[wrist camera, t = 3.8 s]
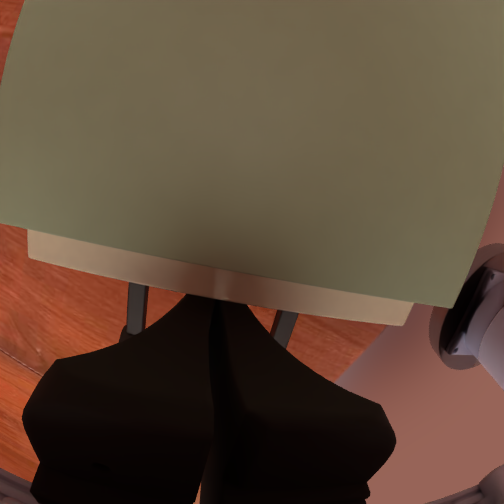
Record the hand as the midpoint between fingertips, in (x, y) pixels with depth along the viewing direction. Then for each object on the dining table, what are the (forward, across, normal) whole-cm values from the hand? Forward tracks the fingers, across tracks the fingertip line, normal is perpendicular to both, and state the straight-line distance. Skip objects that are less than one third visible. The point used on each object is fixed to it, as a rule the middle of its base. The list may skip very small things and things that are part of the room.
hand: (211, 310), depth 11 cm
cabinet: (+5, 0, -10) cm, 11 cm away
